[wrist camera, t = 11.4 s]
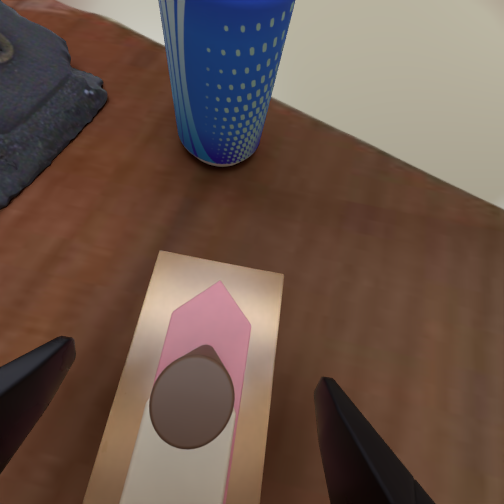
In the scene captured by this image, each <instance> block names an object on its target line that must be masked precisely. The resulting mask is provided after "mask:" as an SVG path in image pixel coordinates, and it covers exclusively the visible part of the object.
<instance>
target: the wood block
mask: <svg viewBox="0 0 504 504" xmlns="http://www.w3.org/2000/svg"><path fill="white" fill-rule="evenodd" d="M218 281H221V282H222V283H223V285H224V286H225V288H226V289H227V290H228V292H229V293H230V295H231V296H232V298H233V299H234V301H235V302H236V304H237V305H238V306H239V308H240V309H241V311H242V312H243V314H244V315H245V317H246V318H247V319H248V321H249V322H250V324H251V333H250V340H249V347H248V354H247V361H246V368H245V374H244V381H243V388H242V395H241V402H240V409H239V416H238V422H237V429H236V436H235V443H234V450H233V457H232V464H231V470H230V477H229V484H228V491H227V498H226V504H260V496H261V486H262V477H263V468H264V458H265V449H266V440H267V430H268V421H269V412H270V402H271V393H272V384H273V374H274V365H275V356H276V346H277V337H278V328H279V318H280V309H281V300H282V290H283V281H284V274H279V273H274V272H269V271H264V270H259V269H254V268H248V267H243V266H238V265H233V264H228V263H223V262H217V261H212V260H207V259H202V258H197V257H192V256H186V255H181V254H176V253H171V252H166V251H159V254H158V257H157V260H156V264H155V267H154V270H153V273H152V277H151V280H150V283H149V287H148V290H147V293H146V296H145V300H144V303H143V306H142V309H141V313H140V316H139V319H138V323H137V326H136V329H135V332H134V336H133V339H132V342H131V346H130V349H129V352H128V355H127V359H126V362H125V365H124V368H123V372H122V375H121V378H120V382H119V385H118V388H117V391H116V395H115V398H114V401H113V404H112V408H111V411H110V414H109V418H108V421H107V424H106V427H105V431H104V434H103V437H102V441H101V444H100V447H99V450H98V454H97V457H96V460H95V463H94V467H93V470H92V473H91V477H90V480H89V483H88V486H87V490H86V493H85V496H84V499H83V503H82V504H119V503H120V499H121V495H122V491H123V488H124V484H125V480H126V476H127V473H128V469H129V465H130V461H131V457H132V454H133V450H134V446H135V442H136V439H137V435H138V431H139V427H140V423H141V420H142V416H143V412H144V408H145V405H146V402H147V401H148V399H149V398H150V395H151V391H152V387H153V383H154V380H155V376H156V372H157V368H158V364H159V360H160V357H161V353H162V349H163V345H164V341H165V337H166V334H167V330H168V326H169V322H170V318H171V315H172V312H173V311H174V310H176V309H177V308H179V307H180V306H182V305H183V304H185V303H186V302H188V301H189V300H191V299H192V298H194V297H196V296H197V295H199V294H200V293H202V292H203V291H205V290H206V289H208V288H209V287H211V286H212V285H214V284H215V283H217V282H218Z"/></svg>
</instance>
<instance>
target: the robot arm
mask: <svg viewBox="0 0 504 504" xmlns="http://www.w3.org/2000/svg"><path fill="white" fill-rule="evenodd" d="M75 356H76V352H75V341H74V339H73V338H72V337H66V336H59V337H57V338H55V339H53V340H51V341H49V342H47V343H45V344H44V345H42V346H40V347H38V348H36V349H34V350H32V351H30V352H28V353H26V354H25V355H23V356H21V357H19V358H17V359H15V360H13V361H11V362H9V363H7V364H5V365H4V366H2V367H0V474H1V472H2V471H3V470H4V468H5V467H6V465H7V464H8V462H9V461H10V460H11V458H12V457H13V455H14V454H15V452H16V451H17V450H18V448H19V447H20V445H21V444H22V443H23V441H24V440H25V438H26V437H27V435H28V434H29V433H30V431H31V430H32V428H33V427H34V426H35V424H36V423H37V421H38V420H39V418H40V417H41V416H42V414H43V413H44V411H45V410H46V408H47V407H48V405H49V403H50V402H51V400H52V398H53V397H54V395H55V393H56V391H57V390H58V388H59V386H60V385H61V383H62V381H63V379H64V378H65V376H66V374H67V372H68V371H69V369H70V367H71V365H72V364H73V362H74V360H75ZM314 401H315V411H316V421H317V432H318V440H319V446H320V452H321V457H322V462H323V467H324V472H325V478H326V483H327V488H328V493H329V498H330V503H331V504H435V503H434V501H433V500H432V499H431V498H430V497H429V495H428V494H427V493H426V492H425V491H424V489H423V488H422V487H421V486H420V484H419V483H418V482H417V481H416V480H414V478H413V476H412V475H411V473H410V472H409V471H408V470H407V469H406V467H405V466H404V465H403V464H402V462H401V461H400V460H399V459H398V458H397V456H396V455H395V454H394V453H393V451H392V450H391V449H390V448H389V446H388V445H387V444H386V443H385V442H384V440H383V439H382V438H381V437H380V435H379V434H378V433H377V432H376V430H375V429H374V428H373V427H372V426H371V424H370V423H369V422H368V421H367V419H366V418H365V417H364V416H363V415H362V413H361V412H360V411H359V410H358V408H357V407H356V406H355V405H354V403H353V402H352V401H351V400H350V399H349V397H348V396H347V395H346V394H345V392H344V391H343V390H342V389H341V387H340V386H339V385H338V384H337V383H336V381H335V380H334V379H333V378H329V377H321V379H320V381H319V383H318V385H317V387H316V389H315V392H314Z"/></svg>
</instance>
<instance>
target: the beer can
mask: <svg viewBox="0 0 504 504" xmlns="http://www.w3.org/2000/svg"><path fill="white" fill-rule="evenodd" d="M158 1H159V7H160V14H161V21H162V27H163V34H164V41H165V48H166V54H167V61H168V68H169V75H170V81H171V88H172V95H173V102H174V108H175V115H176V122H177V129H178V134H179V138H180V140H181V142H182V144H183V145H184V147H185V148H186V149H187V150H188V151H189V152H190V153H191V154H193V155H194V156H195V157H197V158H198V159H199V160H201V161H202V162H204V163H207V164H209V165H213V166H219V167H226V166H232V165H235V164H237V163H239V162H241V161H243V160H245V159H247V158H248V157H250V156H251V155H252V154H253V153H254V152H255V150H256V149H257V147H258V145H259V142H260V138H261V134H262V130H263V126H264V122H265V118H266V114H267V110H268V106H269V102H270V99H271V95H272V90H273V87H274V83H275V79H276V75H277V71H278V66H279V63H280V59H281V55H282V51H283V47H284V43H285V39H286V35H287V31H288V27H289V23H290V20H291V16H292V12H293V8H294V3H295V0H158Z"/></svg>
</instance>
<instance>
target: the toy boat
mask: <svg viewBox="0 0 504 504" xmlns="http://www.w3.org/2000/svg"><path fill="white" fill-rule="evenodd" d="M250 333H251V324H250V322H249V321H248V319H247V318H246V317H245V315H244V314H243V312H242V311H241V309H240V308H239V306H238V305H237V304H236V302H235V301H234V299H233V298H232V296H231V295H230V293H229V292H228V290H227V289H226V288H225V286H224V285H223V283H222V282H221V281H218V282H217V283H215V284H214V285H212V286H211V287H209V288H208V289H206V290H205V291H203V292H202V293H200V294H199V295H197V296H196V297H194V298H192V299H191V300H189V301H188V302H186V303H185V304H183V305H182V306H180V307H179V308H177V309H176V310H174V311H173V312H172V315H171V318H170V322H169V326H168V330H167V334H166V337H165V341H164V345H163V349H162V353H161V357H160V360H159V364H158V368H157V372H156V376H155V380H154V383H153V387H152V391H151V395H150V398H149V399H148V401H147V402H146V405H145V408H144V412H143V416H142V420H141V423H140V427H139V431H138V435H137V439H136V442H135V446H134V450H133V454H132V457H131V461H130V465H129V469H128V473H127V476H126V480H125V484H124V488H123V491H122V495H121V499H120V503H119V504H226V498H227V491H228V484H229V477H230V470H231V464H232V457H233V450H234V443H235V436H236V429H237V422H238V416H239V409H240V402H241V395H242V388H243V381H244V374H245V368H246V361H247V354H248V347H249V340H250Z"/></svg>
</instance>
